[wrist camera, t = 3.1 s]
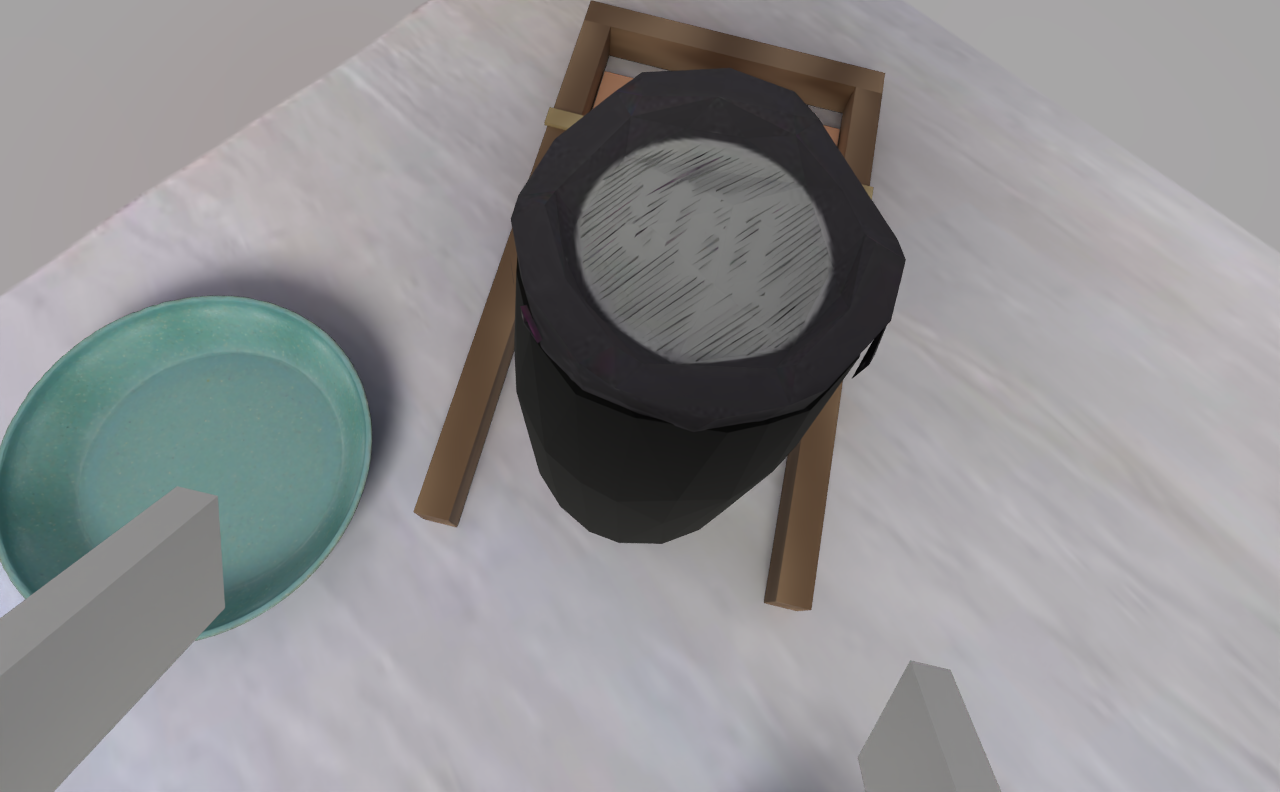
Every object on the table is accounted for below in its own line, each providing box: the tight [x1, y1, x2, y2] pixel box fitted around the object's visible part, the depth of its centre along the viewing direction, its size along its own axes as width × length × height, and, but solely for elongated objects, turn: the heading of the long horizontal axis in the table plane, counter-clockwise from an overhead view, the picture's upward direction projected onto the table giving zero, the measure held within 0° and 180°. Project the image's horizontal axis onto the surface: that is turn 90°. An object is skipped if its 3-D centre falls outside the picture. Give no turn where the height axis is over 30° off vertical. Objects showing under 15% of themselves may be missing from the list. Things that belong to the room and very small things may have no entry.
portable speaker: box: [511, 68, 906, 544], centre depth 22 cm, size 9×9×20 cm
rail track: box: [414, 1, 885, 611], centre depth 34 cm, size 17×30×2 cm, turn 167°
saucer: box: [0, 296, 372, 641], centre depth 29 cm, size 15×15×3 cm
